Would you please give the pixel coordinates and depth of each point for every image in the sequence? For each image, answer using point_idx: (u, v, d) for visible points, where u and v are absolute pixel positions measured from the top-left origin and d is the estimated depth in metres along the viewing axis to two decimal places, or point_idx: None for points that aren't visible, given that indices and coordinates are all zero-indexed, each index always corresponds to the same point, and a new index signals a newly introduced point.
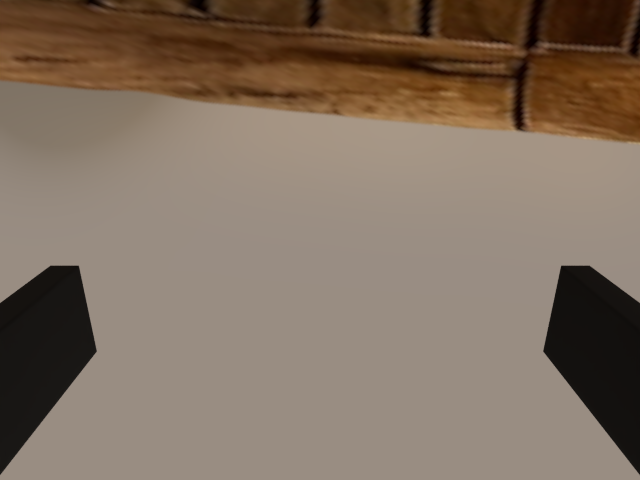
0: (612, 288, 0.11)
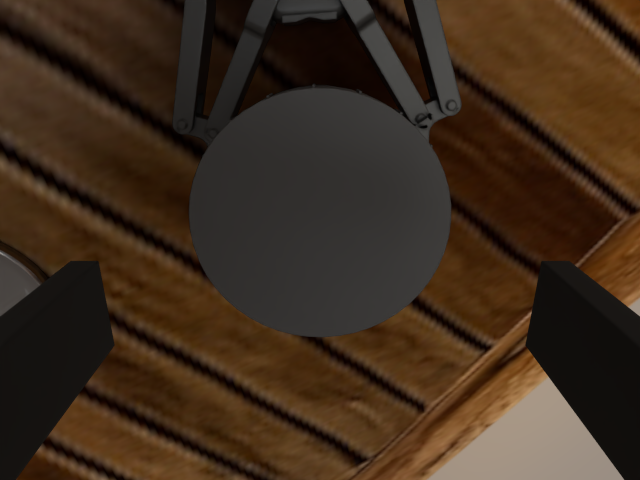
0: (589, 282, 0.11)
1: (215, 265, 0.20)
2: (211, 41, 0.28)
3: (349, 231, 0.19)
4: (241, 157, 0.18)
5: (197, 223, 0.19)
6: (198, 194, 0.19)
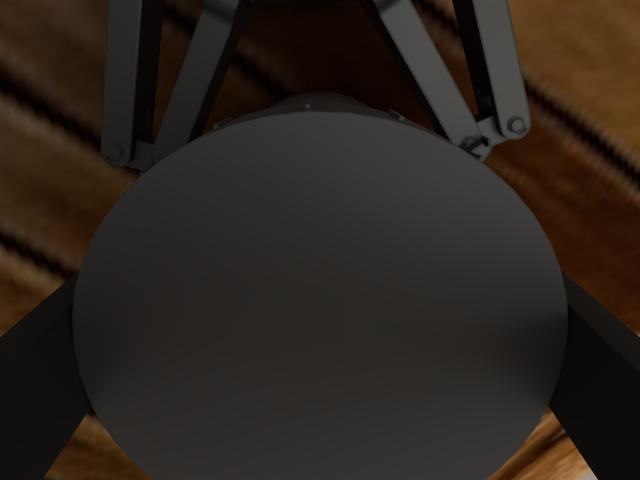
0: None
1: (130, 428, 0.11)
2: (160, 29, 0.19)
3: (375, 373, 0.10)
4: (165, 245, 0.09)
5: (90, 360, 0.10)
6: (87, 311, 0.10)
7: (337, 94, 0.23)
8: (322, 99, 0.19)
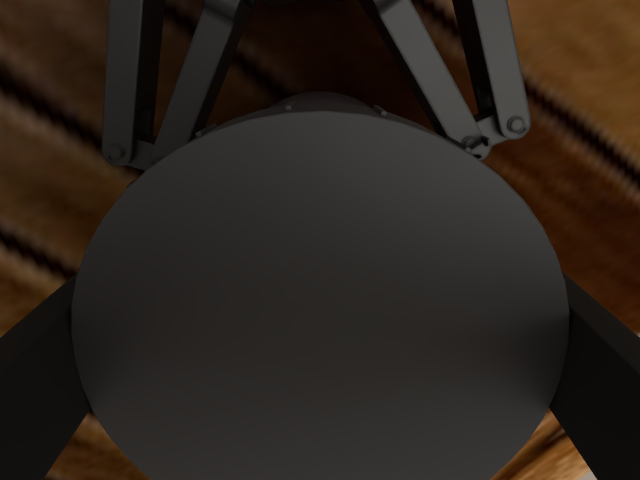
0: None
1: None
2: (160, 29, 0.19)
3: (343, 319, 0.10)
4: (181, 451, 0.11)
5: None
6: None
7: (337, 94, 0.23)
8: (322, 99, 0.19)
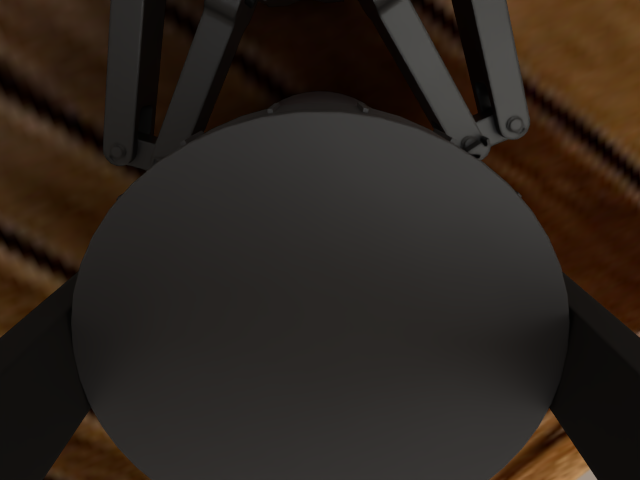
0: None
1: (540, 361, 0.10)
2: (161, 29, 0.19)
3: (271, 338, 0.10)
4: None
5: (519, 432, 0.11)
6: (488, 467, 0.11)
7: (337, 94, 0.24)
8: (322, 99, 0.19)
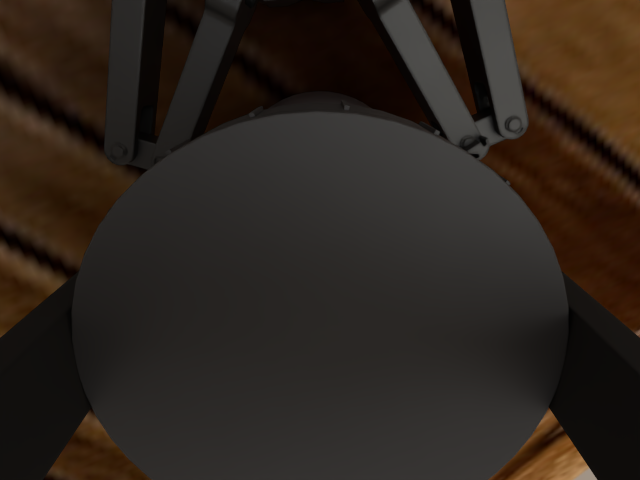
0: None
1: (362, 147, 0.08)
2: (162, 30, 0.19)
3: (282, 397, 0.11)
4: (509, 319, 0.10)
5: (465, 174, 0.09)
6: (511, 214, 0.09)
7: (337, 94, 0.24)
8: (322, 99, 0.19)
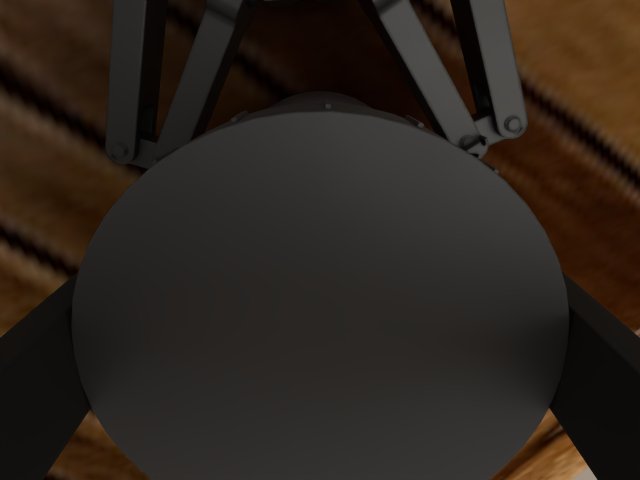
0: None
1: (101, 298, 0.10)
2: (163, 29, 0.19)
3: (352, 402, 0.11)
4: (298, 180, 0.09)
5: (128, 216, 0.09)
6: (172, 174, 0.09)
7: (337, 94, 0.24)
8: (323, 98, 0.19)
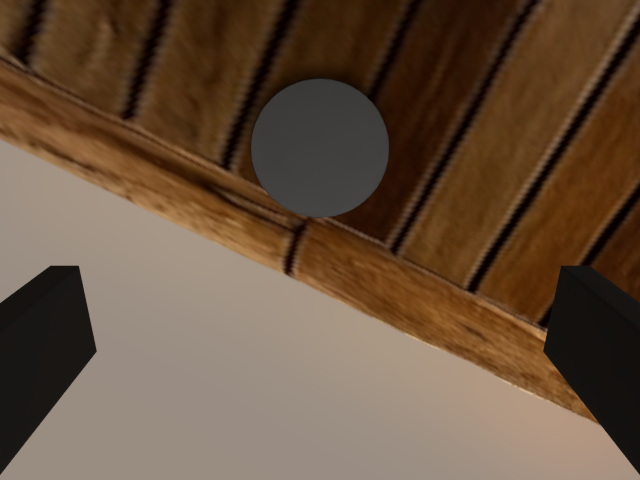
0: (612, 288, 0.11)
1: (260, 130, 0.36)
2: None
3: (329, 164, 0.37)
4: (314, 96, 0.35)
5: (270, 106, 0.35)
6: (283, 94, 0.35)
7: None
8: None
